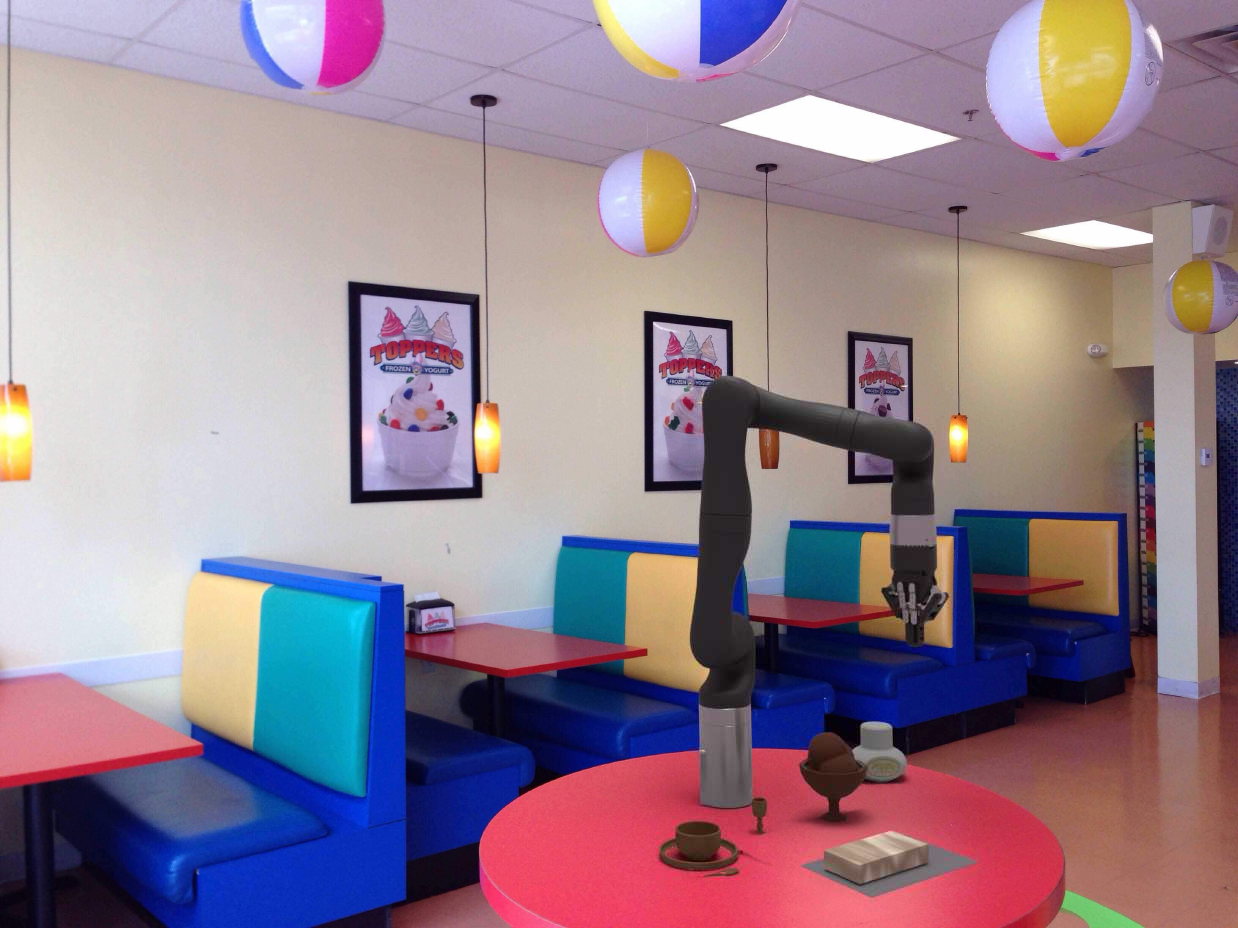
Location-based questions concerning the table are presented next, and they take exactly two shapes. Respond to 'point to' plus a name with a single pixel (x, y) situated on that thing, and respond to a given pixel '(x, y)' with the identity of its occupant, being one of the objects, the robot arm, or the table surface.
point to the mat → (937, 865)
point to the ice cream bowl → (832, 772)
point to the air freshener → (879, 752)
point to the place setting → (707, 842)
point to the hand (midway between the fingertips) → (915, 645)
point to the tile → (876, 857)
